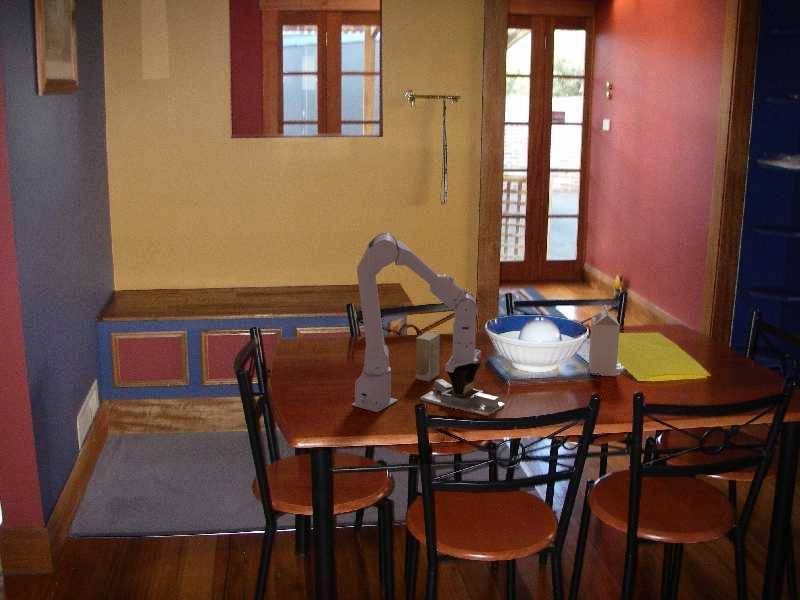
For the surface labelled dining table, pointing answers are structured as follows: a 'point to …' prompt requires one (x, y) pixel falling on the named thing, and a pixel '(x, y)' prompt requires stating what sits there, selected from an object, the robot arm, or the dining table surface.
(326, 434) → the dining table surface
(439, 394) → the coupling bench
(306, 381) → the dining table surface
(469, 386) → the block
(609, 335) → the milk carton
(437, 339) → the skincare box
